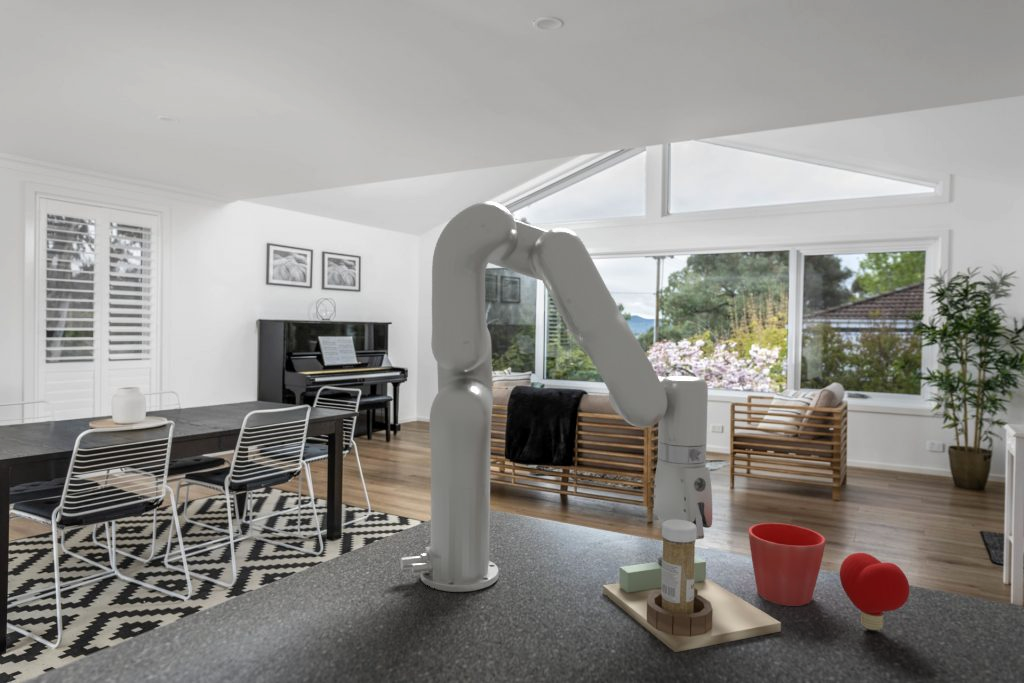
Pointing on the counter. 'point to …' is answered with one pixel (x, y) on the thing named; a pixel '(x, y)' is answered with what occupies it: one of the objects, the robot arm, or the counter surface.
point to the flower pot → (785, 562)
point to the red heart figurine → (873, 587)
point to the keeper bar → (652, 575)
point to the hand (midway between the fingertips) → (679, 565)
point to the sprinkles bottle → (678, 566)
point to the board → (695, 616)
